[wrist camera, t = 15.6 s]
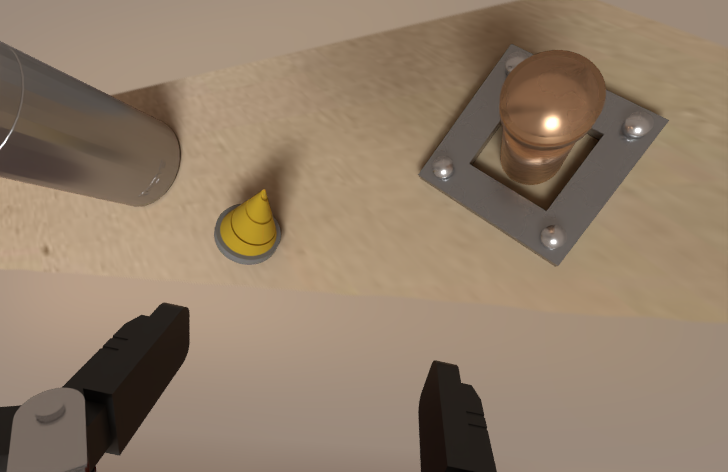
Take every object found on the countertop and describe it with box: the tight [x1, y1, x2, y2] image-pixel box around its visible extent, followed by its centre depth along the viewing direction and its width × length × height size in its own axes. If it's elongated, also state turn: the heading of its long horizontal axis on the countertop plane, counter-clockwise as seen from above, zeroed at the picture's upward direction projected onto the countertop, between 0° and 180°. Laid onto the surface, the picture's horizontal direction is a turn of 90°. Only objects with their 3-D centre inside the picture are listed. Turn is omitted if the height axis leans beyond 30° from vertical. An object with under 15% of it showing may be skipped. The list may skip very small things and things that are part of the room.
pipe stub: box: [499, 50, 606, 185], centre depth 25 cm, size 5×5×10 cm
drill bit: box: [214, 190, 281, 265], centre depth 33 cm, size 5×5×10 cm
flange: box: [418, 44, 669, 267], centre depth 29 cm, size 12×12×2 cm
